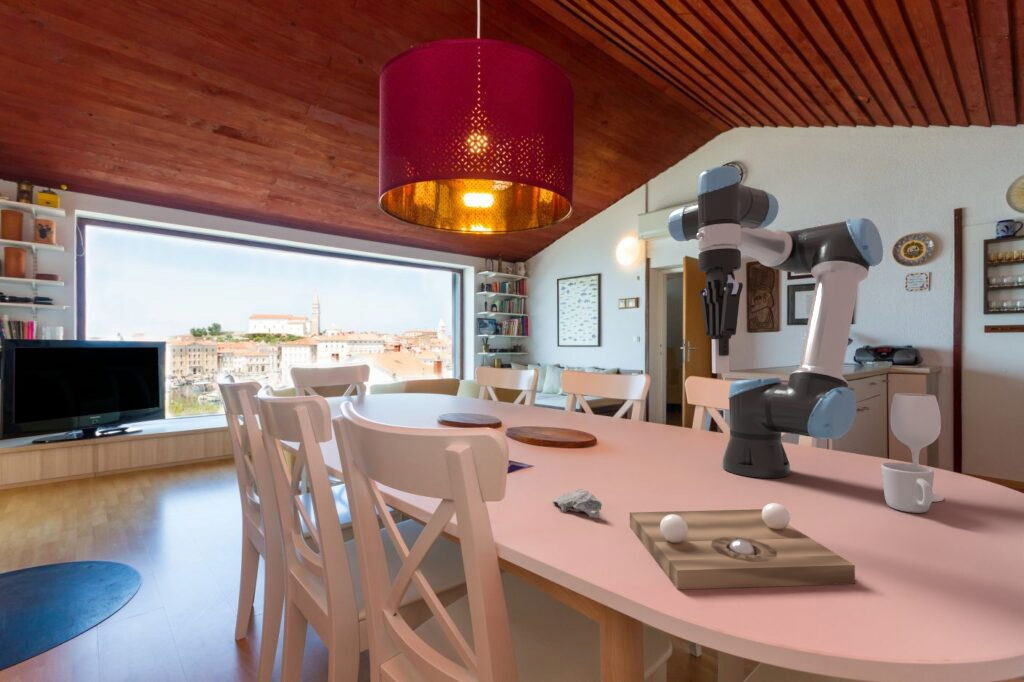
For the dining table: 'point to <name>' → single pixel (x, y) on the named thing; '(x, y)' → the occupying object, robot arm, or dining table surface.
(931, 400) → the wineglass
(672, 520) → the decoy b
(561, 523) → the dining table surface
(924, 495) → the cup
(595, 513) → the stone
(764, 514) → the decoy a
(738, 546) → the steel ball
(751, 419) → the robot arm
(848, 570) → the board
